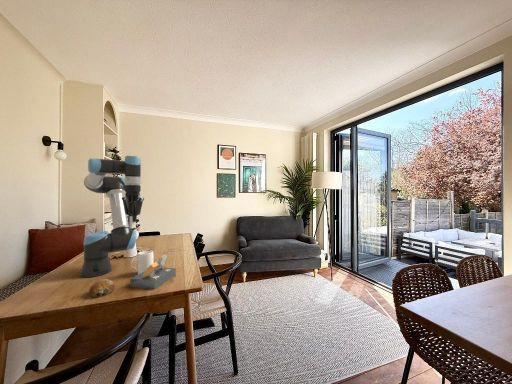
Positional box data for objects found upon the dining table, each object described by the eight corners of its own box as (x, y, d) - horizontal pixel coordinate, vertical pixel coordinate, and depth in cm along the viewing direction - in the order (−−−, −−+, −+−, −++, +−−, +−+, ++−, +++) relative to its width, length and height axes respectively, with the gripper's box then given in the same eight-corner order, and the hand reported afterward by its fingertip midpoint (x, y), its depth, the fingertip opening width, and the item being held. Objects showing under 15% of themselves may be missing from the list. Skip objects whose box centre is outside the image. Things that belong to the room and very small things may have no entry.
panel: (130, 286, 112) (130, 262, 112) (154, 273, 130) (153, 252, 129) (154, 289, 109) (154, 264, 109) (175, 275, 126) (175, 254, 126)
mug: (131, 277, 123) (131, 256, 123) (130, 273, 130) (130, 252, 130) (154, 273, 130) (154, 252, 129) (152, 269, 137) (152, 249, 137)
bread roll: (116, 297, 109) (120, 279, 112) (104, 297, 99) (109, 278, 103) (96, 297, 108) (100, 279, 112) (81, 297, 99) (87, 278, 102)
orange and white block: (140, 275, 112) (150, 264, 111) (147, 272, 117) (156, 261, 116) (143, 278, 112) (152, 267, 111) (149, 275, 117) (159, 264, 116)
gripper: (117, 184, 119) (117, 228, 120) (137, 184, 116) (137, 229, 117) (128, 184, 127) (128, 226, 127) (147, 184, 124) (147, 227, 124)
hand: (132, 227), depth 122 cm, fingers closed
